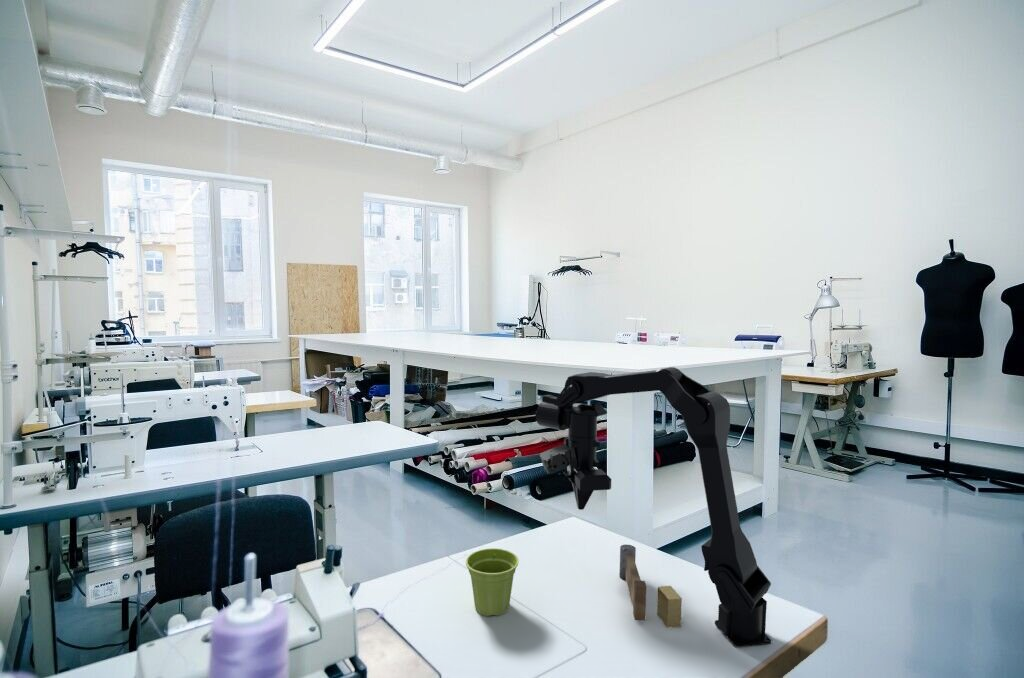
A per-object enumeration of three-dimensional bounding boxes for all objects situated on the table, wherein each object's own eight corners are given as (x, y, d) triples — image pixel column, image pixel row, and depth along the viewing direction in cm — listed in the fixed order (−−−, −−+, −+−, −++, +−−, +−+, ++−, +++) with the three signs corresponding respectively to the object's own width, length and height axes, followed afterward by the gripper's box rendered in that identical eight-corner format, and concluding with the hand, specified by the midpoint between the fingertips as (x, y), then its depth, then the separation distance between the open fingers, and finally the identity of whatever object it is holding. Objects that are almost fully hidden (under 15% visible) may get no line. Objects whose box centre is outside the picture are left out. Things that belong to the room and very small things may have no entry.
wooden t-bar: (623, 578, 103) (624, 548, 103) (633, 578, 103) (634, 549, 103) (634, 619, 90) (635, 585, 90) (645, 620, 90) (646, 586, 89)
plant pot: (454, 609, 94) (454, 562, 93) (488, 586, 101) (488, 543, 101) (495, 630, 88) (496, 579, 87) (528, 604, 96) (529, 558, 95)
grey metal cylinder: (631, 572, 107) (632, 544, 107) (637, 580, 104) (638, 551, 104) (617, 573, 107) (618, 545, 106) (622, 581, 104) (623, 552, 103)
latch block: (669, 612, 94) (670, 585, 93) (680, 626, 90) (681, 598, 89) (656, 614, 93) (657, 586, 93) (667, 628, 89) (668, 599, 89)
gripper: (533, 424, 116) (532, 494, 117) (555, 448, 97) (554, 531, 98) (583, 423, 118) (581, 491, 119) (613, 446, 99) (611, 527, 100)
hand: (580, 508), depth 109 cm, fingers closed
